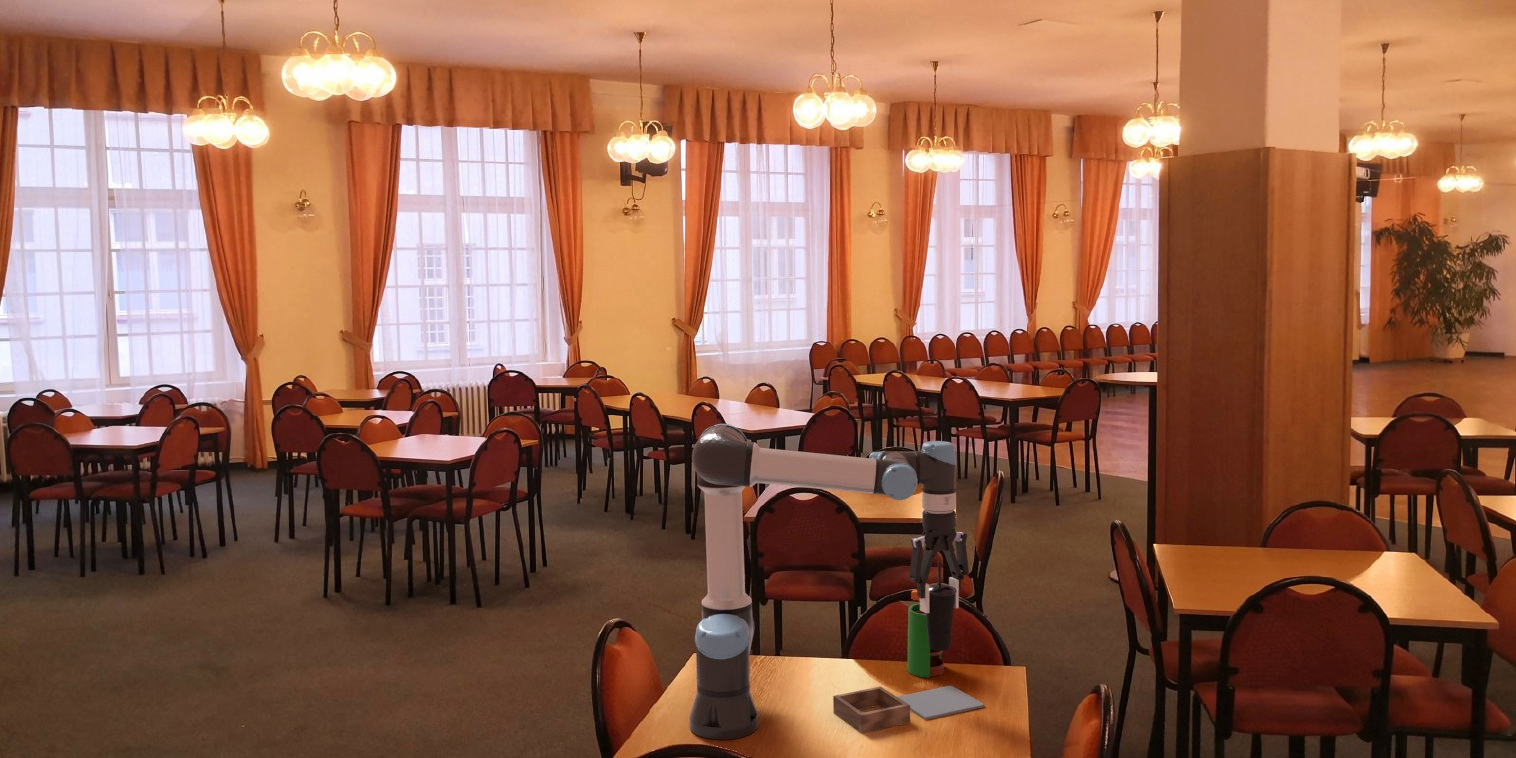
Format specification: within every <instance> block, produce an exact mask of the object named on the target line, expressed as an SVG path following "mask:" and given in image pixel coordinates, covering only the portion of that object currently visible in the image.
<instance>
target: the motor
mask: <svg viewBox="0 0 1516 758" xmlns="http://www.w3.org/2000/svg"><path fill="white" fill-rule="evenodd" d="M910 596H911V597H910V600H911V599H913V600H912V601H918V603H913V604H911V605H910V606H908V611H907V612H908V613H907V614H908V617H907V618H908V619H907V621H908V623H907V671H908V673H909V674H911V675H912V676H915V677H920V678H925V677H926V679H929V678H930V677H935V676H936V675H937V676H939V675H942V674H943V673H944V672H945V671H944V670H945V668H944V666H945V662H944V660H943V659H942V654H943V652H944V651H936V650H932V649H930V648H929V643H928V632H927V621H926V613H925V612H923V611H921V610H920V598H919V597H918V596H917V589H915V590H912V591H911V593H910ZM943 671H944V672H943ZM941 673H942V674H941Z"/></svg>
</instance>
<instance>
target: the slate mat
mask: <svg viewBox="0 0 1516 758" xmlns="http://www.w3.org/2000/svg"><path fill="white" fill-rule="evenodd" d="M897 697H898V698H900V699H901V700H903V701H904V702H906V703H907V704H909V705H910V712H912V713H914V714H916V715H917V716H918V717H920V718H922V719H923V720H925V721H927V720H932V719H936V718H940V717H945V716H950V715H955V714H959V713H963V712H967V711H972V710H977V708H978V709H981V708H982V709H983V708H985V707H986V706H985V705H986V704H985V703H982V702H981V701H980V700H978V699H976V698H975V697H973V696H971V695H969V694H967V693H965V692H963V691H962V690H960V689H959V688H957V687H955V686H954V685H946V686H942V687H937V688H931V689H926V690H922V691H918V692H917V691H916V692H913V693H908V694H903V695H899V696H897Z"/></svg>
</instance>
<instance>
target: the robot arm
mask: <svg viewBox="0 0 1516 758" xmlns="http://www.w3.org/2000/svg"><path fill="white" fill-rule="evenodd" d="M956 455H957V454H956V446H955V445H954V444H953V443H952V442H950V441H943V440H932V441H926V442H924V443H922V447H921V450H918V451H887V450H883V451H873V452H871V453H870V454H869V456H868V457H869V458H867V457H859V456H858V457H857V456H848V455H838V454H829V453H828V454H827V453H817V452H816V453H815V452H807V451H798V450H797V451H795V450H786V449H779V448H778V449H775V448H766V447H761V446H759V445H758V444H757V442H753V441H748V439H747V437H746V435H745V433H743V432H742V430H741V429H739V428H738V427H736V426H734V425H732V424H727V423H719V424H714V425H712V426H709V427H708V428H706V429H705V430H704V431H703V432H702V433H701V435H700V436H699V438H698V440H697V441H696V443H695V445H694V447H693V449H692V453H691V461H692V465H693V466H692V467H693V468H694V470H695V472H696V476H697V477H696V478H697V481H696V482H697V487H698V488H699V489H700V490H701V491H702V492H703V493H704V518H705V519H704V520H705V522H704V523H705V550H706V575H707V576H706V578H707V579H706V582H707V584H706V585H707V594H706V595H705V596H704V597H703V599H702V600H701V621H700V622H698V624H697V626H696V629H695V636H694V643H695V648H696V649H695V652H696V654H695V655H696V656H695V657H696V658H695V659H696V661H695V662H696V663H695V664H696V665H695V666H696V694H695V695H696V696H695V698H694V702H693V704H692V708H691V711H690V715H689V729H690V731H691V732H692V733H693V734H694V735H697V736H699V737H702V738H704V739H708V740H709V739H710V740H719V741H721V740H734V739H738V738H742V737H746V736H749V735H751V734H752V733H754V732H755V731H756V730H757V729H758V728H759V713H758V710H757V708H756V704H755V702H754V699H753V696H752V693H751V683H750V681H751V680H750V679H751V677H750V671H751V670H750V669H751V668H750V655H751V653H750V652H751V647H752V642H753V638H754V635H755V621H754V617H753V601H752V600H753V599H752V597H750V596H749V595H748V594H747V593H746V588H745V587H746V586H745V584H746V583H745V580H746V579H745V553H744V549H745V548H744V523H743V522H744V518H743V491H744V489H745V488H746V487H750V488H752V487H753V486H755V485H756V484H766V485H768V484H769V485H776V486H777V485H778V486H789V487H798V488H806V489H807V488H808V489H818V490H821V489H822V490H829V491H830V490H832V491H838V492H839V491H841V492H850V493H851V492H853V493H863V494H871V495H872V494H873V495H880V496H887V497H888V498H891V499H893V500H896V501H903V500H907V499H909V498H911V497H912V496H913V495H914V494H915V492H916V490H917V488H918V485H922V493H921V494H922V495H921V496H922V497H921V498H922V499H921V500H922V501H921V502H922V504H921V505H922V507H921V508H922V509H923V511H922V513H921V515H922V528H923V532H922V534H921V536H920V537H912V538H911V540H910V542H911V548H912V549H911V550H912V552H911V558H910V567H909V576H908V580H909V581H911V582H912V583H915V584H916V586H917V587H916V590H917V596H918V597H919V598H920V602H919V603H920V610H921V611H923V612H925V613H929V585H930V584H929V583H927V581H928V578H929V575H930V573H931V569H932V566H933V563H934V559H935V557H936V556H937V555H938V553H939V552H943V554H944V557H945V559H946V562H947V564H948V567H949V570H950V573H951V576H950V577H948V585H950V586H952V587H954V588H956V590H957V592H956V594H955V602H954V609H959V603H960V602H959V601H960V600H959V598H960V597H959V596H960V595H959V594H960V593H961V592H962V581H963V580H964V579H965V576H968V575H969V574H970V570H969V563H968V560H969V559H968V552H967V539H968V538H967V537H968V534H967V533H965V532H962V531H961V530H960V531H957V530H956V529H955V528H956V527H957V512H956V511H955V510H956V509H957V464H958V463H957V456H956ZM954 541H955V542H954ZM953 542H954V543H955V545H953V544H954V543H953ZM924 543H925V544H924ZM954 546H955V548H954ZM923 547H924V548H923ZM955 553H956V554H955Z"/></svg>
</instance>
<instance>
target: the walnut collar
mask: <svg viewBox="0 0 1516 758" xmlns="http://www.w3.org/2000/svg"><path fill="white" fill-rule="evenodd" d="M832 697H833V699H832V700H833V707H832V708H833V710H832V711H833V714H834V715H836V716H837V717H838V718H840V720H842V721H844V722H845V723H847V724H848V725H849V726H850V727H852V728H854V730H856V731H858V732H859V733H860V734H864V733H870V732H874V731H879V730H883V729H888V728H893V727H897V726H901V725H905V724H906V725H907V724H910V723H911V710H910V705H909V704H907V703H906V702H904V701H903V700H901V699H900V698H898V696H896V695H895V694H893V693H891V692H890V691H889V690H887V689H886V688H884V687H882V686H875V687H871V688H866V689H861V690H856V691H855V690H854V691H852V692H851V691H850V692H846V693H842V694H841V693H840V694H837V695H832ZM873 707H881V708H882V709H876V710H871V711H867V712H862V711H861V710H864V709H869V708H873Z"/></svg>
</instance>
